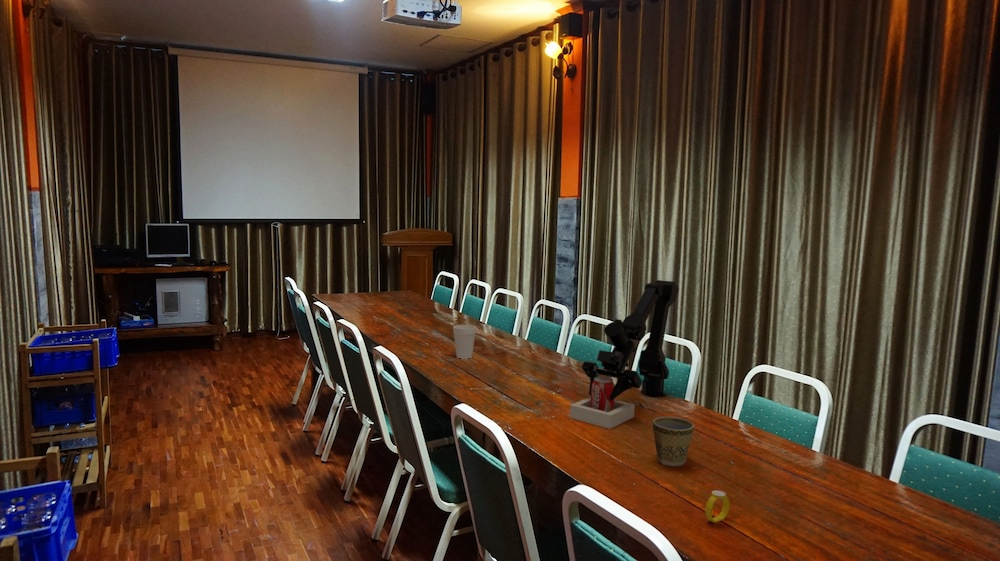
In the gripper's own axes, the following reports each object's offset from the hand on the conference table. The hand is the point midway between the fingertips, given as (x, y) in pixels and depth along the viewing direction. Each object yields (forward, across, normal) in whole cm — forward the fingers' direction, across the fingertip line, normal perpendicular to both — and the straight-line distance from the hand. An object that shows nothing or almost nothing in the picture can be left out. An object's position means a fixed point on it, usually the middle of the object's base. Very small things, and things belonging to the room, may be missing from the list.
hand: (600, 397), depth 193 cm
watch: (+31, +52, -22) cm, 64 cm away
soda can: (+4, 0, +6) cm, 7 cm away
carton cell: (+4, 0, +6) cm, 7 cm away
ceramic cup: (+14, +31, -5) cm, 34 cm away
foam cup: (-14, -82, +24) cm, 87 cm away
